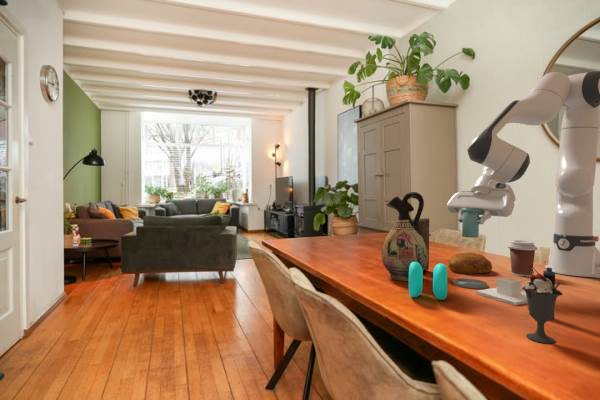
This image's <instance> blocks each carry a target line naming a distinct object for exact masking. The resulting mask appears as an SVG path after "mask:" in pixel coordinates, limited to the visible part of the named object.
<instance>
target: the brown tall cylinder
mask: <svg viewBox="0 0 600 400" xmlns="http://www.w3.org/2000/svg"><path fill="white" fill-rule="evenodd" d="M411 220H412V221H414V218H411ZM418 225H419V228H420V232H421V236H422V238H423V240H424V242H425V244H426V248H427V253H428V261H427V265H426V267H425V269H424V270H423V272H424V271H429V270H430V269H429V268H430V218H429V217H428V218H427V217H423V218H421V217H420V219H419V221H418Z"/></svg>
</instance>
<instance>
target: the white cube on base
mask: <svg viewBox="0 0 600 400" xmlns="http://www.w3.org/2000/svg"><path fill="white" fill-rule="evenodd" d="M522 282H523V281H522V280H519V279H517V278H516V279H515V278H511V277H502V278H496V287H492V288H484V289H480V290H479V289H478V290H476V291H475V294H476V295H480V296H482V297H486V298H490V299H491V300H492V299H493V300H495V301H496V300H497V301H500V302H502V303H506V304H509V305H513V306H520V305H525V304H528V302H527V296H526V292H525V291H524V290H523V289H522V288H523V283H522ZM522 290H523V291H522Z"/></svg>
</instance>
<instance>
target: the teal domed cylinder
mask: <svg viewBox="0 0 600 400" xmlns="http://www.w3.org/2000/svg"><path fill="white" fill-rule="evenodd" d="M480 210H481V209H472V208H462V212H463V222H462V227H461V228H462V229H461V237H463V238H473V239H476V238H479V234H480V233H479V231H480V224H478V223H477V219H478V217H480V215H479V212H480Z"/></svg>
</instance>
